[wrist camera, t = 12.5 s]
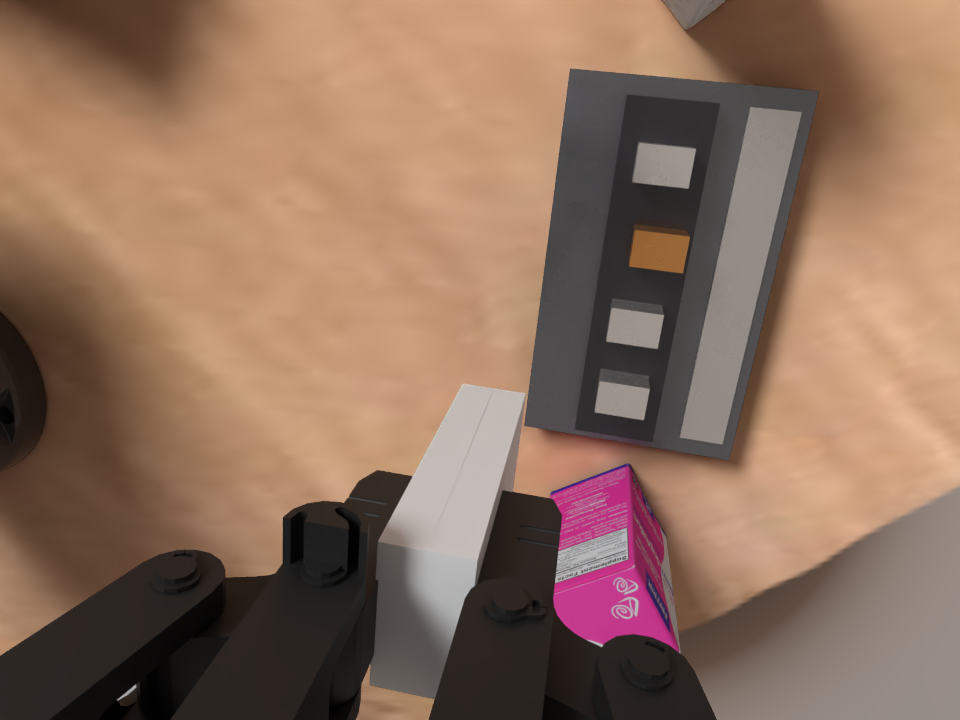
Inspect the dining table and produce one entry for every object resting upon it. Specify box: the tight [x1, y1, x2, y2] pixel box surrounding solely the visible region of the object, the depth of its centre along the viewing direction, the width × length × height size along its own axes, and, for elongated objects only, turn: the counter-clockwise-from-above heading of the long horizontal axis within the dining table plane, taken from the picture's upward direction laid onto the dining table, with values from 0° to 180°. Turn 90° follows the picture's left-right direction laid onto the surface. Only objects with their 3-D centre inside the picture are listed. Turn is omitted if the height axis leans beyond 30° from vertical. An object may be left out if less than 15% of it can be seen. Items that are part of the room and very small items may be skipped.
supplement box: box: [550, 464, 681, 654], centre depth 40 cm, size 6×6×12 cm
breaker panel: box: [524, 69, 819, 460], centre depth 37 cm, size 20×12×6 cm, turn 174°
